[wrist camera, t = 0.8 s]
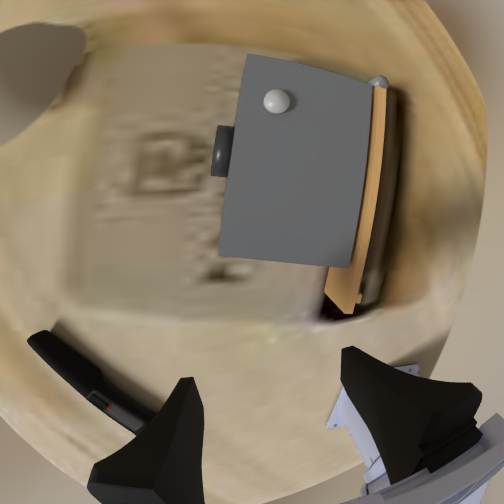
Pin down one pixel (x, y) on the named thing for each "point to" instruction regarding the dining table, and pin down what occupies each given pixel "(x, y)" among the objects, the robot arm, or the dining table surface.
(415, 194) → the dining table surface
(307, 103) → the camera body
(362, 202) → the side door
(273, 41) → the dining table surface
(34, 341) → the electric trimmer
